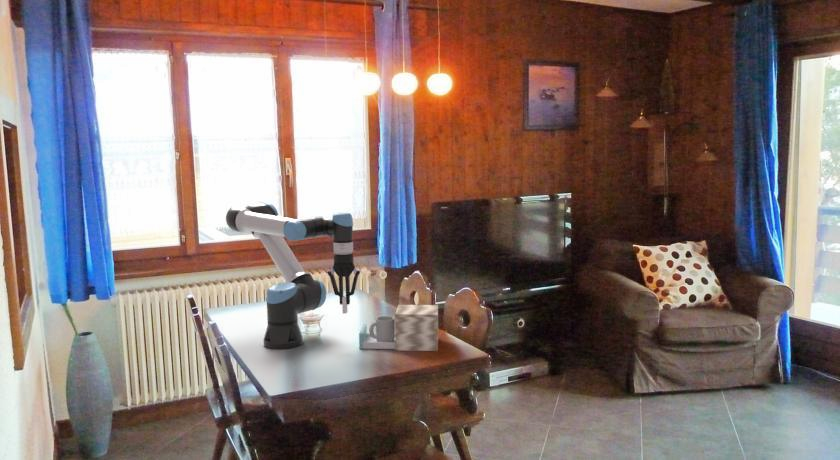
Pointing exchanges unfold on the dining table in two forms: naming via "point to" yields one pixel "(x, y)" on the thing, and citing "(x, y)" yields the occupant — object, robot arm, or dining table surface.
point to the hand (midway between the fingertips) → (345, 312)
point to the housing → (416, 327)
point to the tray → (373, 341)
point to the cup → (383, 329)
